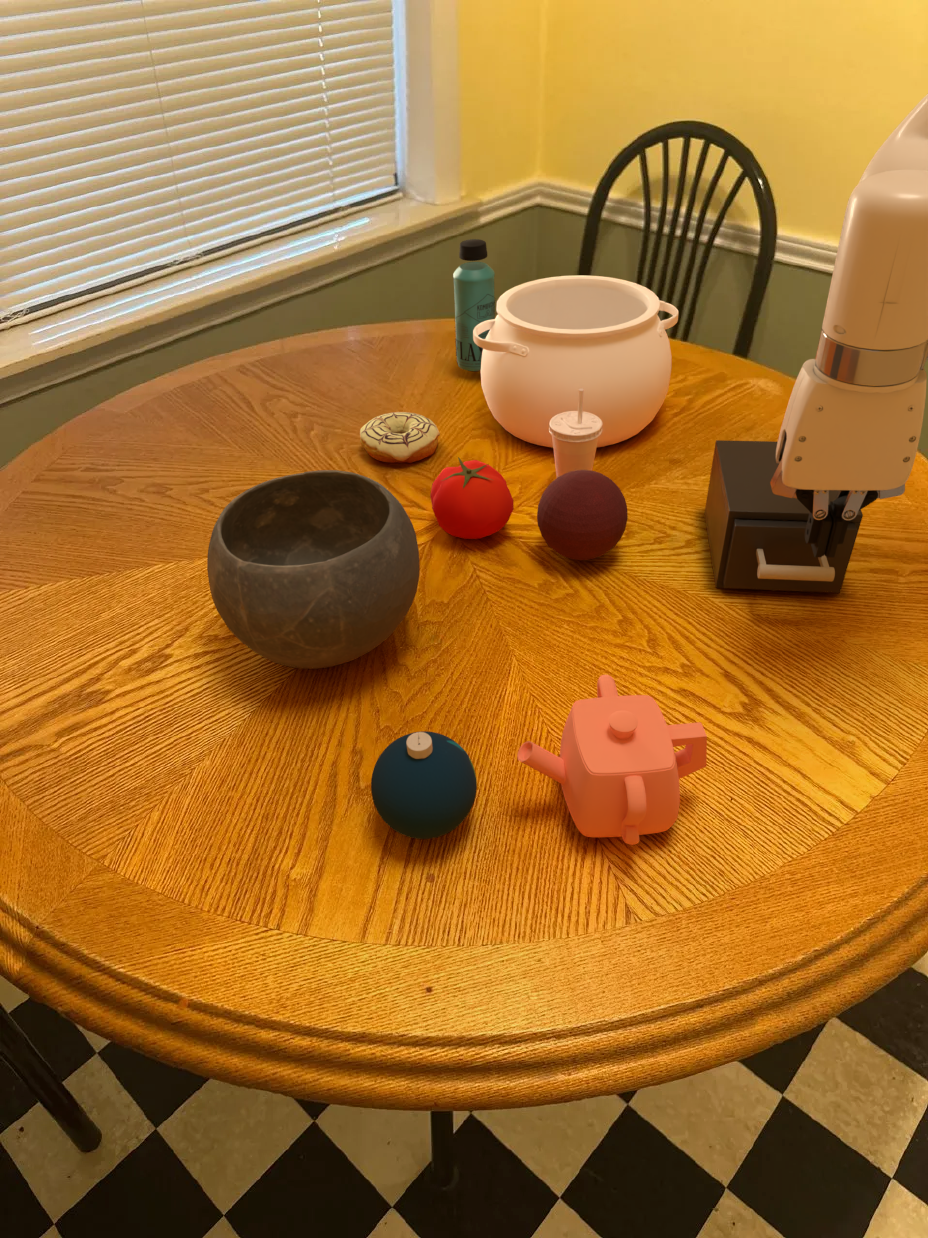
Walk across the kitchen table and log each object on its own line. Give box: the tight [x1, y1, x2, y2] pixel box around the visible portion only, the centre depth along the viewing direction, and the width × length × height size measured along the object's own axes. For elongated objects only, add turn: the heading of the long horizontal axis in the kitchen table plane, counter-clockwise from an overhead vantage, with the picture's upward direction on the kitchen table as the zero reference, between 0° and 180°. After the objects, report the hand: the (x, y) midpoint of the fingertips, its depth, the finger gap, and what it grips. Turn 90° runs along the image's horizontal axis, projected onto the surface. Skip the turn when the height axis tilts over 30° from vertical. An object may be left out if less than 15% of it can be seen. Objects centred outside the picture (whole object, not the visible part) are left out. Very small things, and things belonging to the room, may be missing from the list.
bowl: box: [206, 469, 420, 670], centre depth 85 cm, size 20×20×15 cm
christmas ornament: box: [370, 730, 478, 840], centre depth 68 cm, size 8×8×10 cm
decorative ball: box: [536, 470, 629, 561], centre depth 96 cm, size 10×10×10 cm
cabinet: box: [704, 439, 864, 594], centre depth 94 cm, size 15×13×10 cm
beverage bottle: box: [452, 238, 497, 372], centre depth 132 cm, size 6×7×20 cm
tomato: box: [429, 456, 515, 540], centre depth 101 cm, size 9×10×8 cm
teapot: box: [517, 674, 708, 846], centre depth 68 cm, size 12×12×10 cm
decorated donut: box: [359, 411, 441, 464], centre depth 118 cm, size 10×11×4 cm
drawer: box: [723, 518, 857, 594], centre depth 91 cm, size 18×12×8 cm, turn 173°
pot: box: [473, 275, 679, 449], centre depth 120 cm, size 29×26×16 cm
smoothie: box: [549, 389, 602, 478], centre depth 104 cm, size 6×6×14 cm
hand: (821, 548), depth 78 cm, fingers closed
